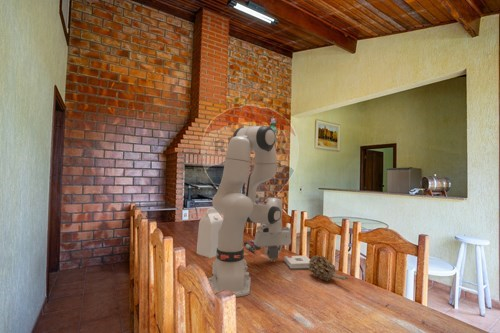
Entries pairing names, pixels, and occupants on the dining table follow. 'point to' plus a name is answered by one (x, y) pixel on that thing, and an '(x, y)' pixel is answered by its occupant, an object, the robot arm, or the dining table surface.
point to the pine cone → (323, 268)
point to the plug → (273, 252)
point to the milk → (209, 233)
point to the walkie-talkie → (251, 245)
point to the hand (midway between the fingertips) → (272, 253)
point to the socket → (297, 262)
